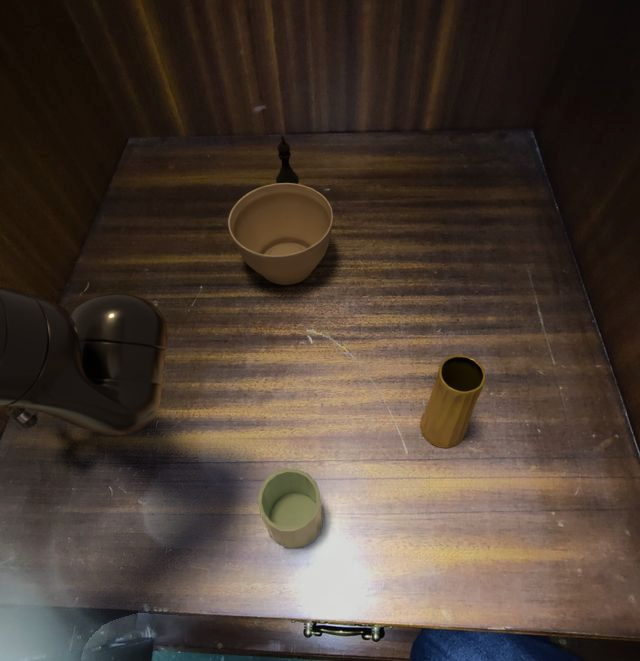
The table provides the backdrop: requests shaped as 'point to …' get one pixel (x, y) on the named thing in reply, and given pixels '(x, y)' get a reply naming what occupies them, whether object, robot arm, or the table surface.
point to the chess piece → (285, 165)
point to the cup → (291, 507)
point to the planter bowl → (282, 230)
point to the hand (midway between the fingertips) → (57, 376)
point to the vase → (452, 400)
